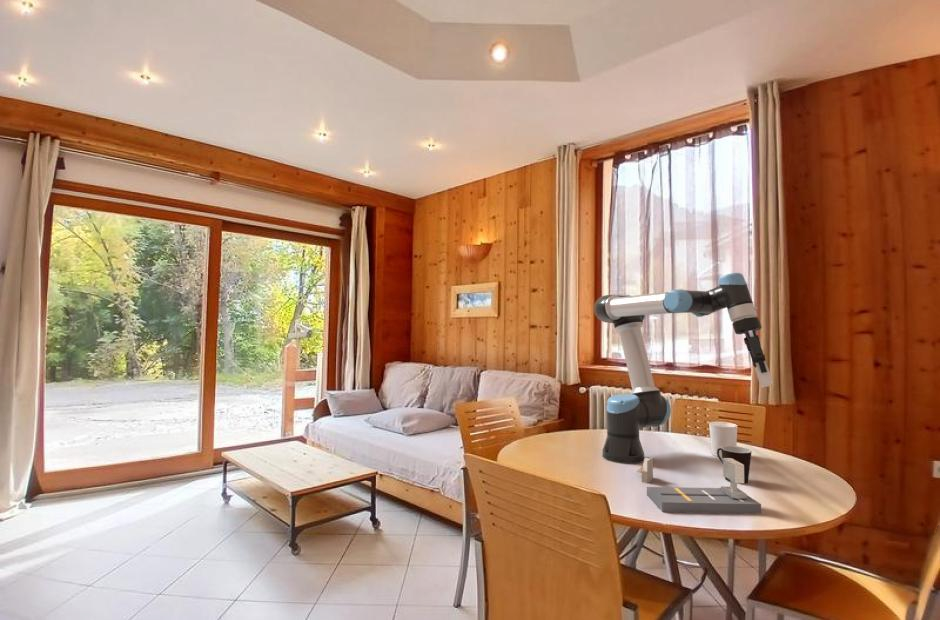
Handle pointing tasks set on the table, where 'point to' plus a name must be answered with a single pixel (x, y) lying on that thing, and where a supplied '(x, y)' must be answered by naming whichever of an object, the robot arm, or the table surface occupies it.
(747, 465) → the coffee mug
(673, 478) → the table surface
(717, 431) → the candle holder
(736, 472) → the fader
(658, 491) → the console
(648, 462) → the architectural model
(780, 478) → the table surface
